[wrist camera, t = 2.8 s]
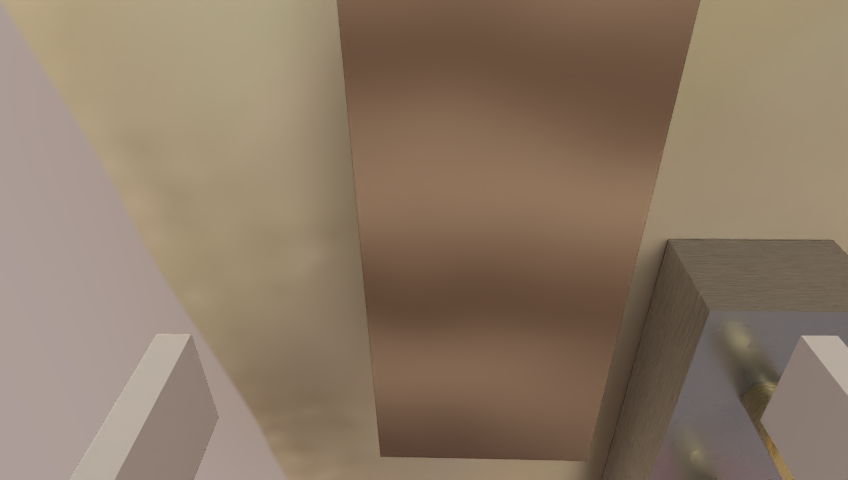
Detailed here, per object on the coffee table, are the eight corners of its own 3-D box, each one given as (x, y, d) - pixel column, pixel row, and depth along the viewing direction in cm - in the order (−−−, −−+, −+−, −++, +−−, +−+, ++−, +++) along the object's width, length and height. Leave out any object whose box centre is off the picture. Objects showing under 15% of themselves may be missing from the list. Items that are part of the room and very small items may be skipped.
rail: (668, 239, 21) (761, 399, 15) (833, 240, 21) (997, 403, 15) (599, 487, 30) (639, 651, 24) (714, 489, 30) (783, 656, 24)
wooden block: (370, -59, 16) (335, -20, 11) (623, -62, 16) (705, -24, 11) (394, 333, 24) (380, 456, 19) (558, 335, 24) (587, 460, 19)
